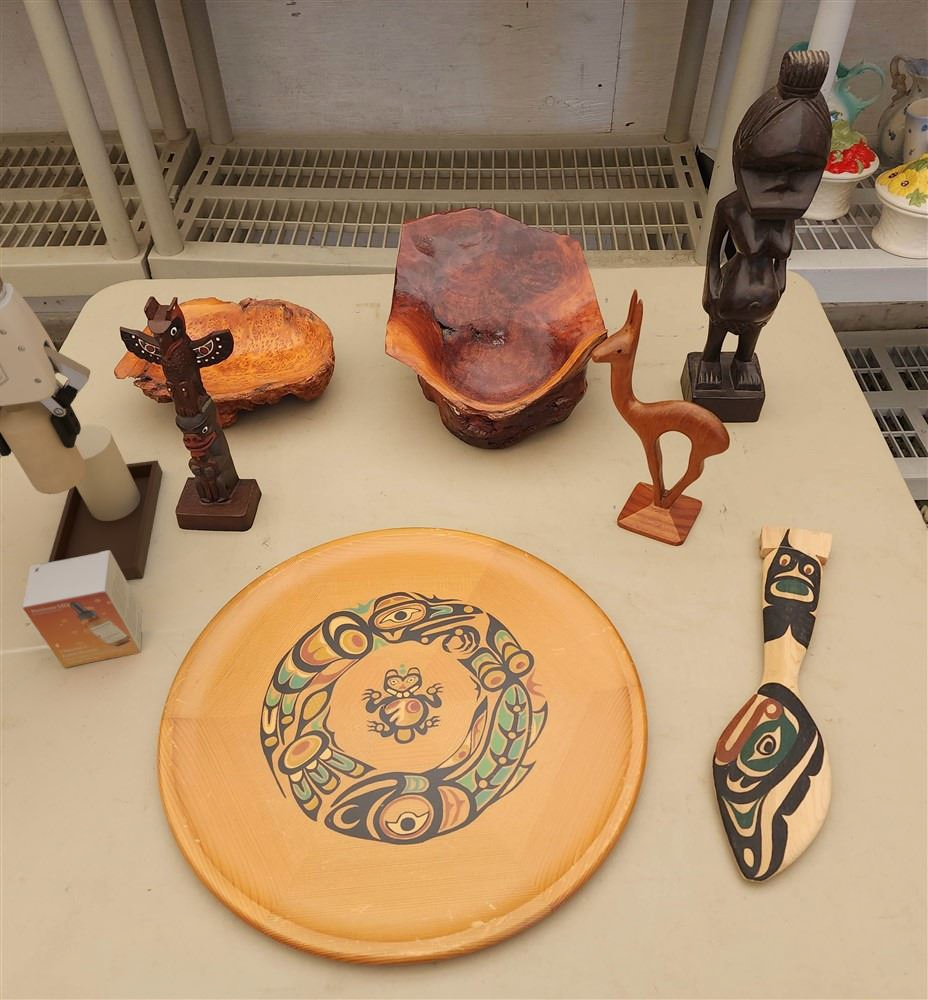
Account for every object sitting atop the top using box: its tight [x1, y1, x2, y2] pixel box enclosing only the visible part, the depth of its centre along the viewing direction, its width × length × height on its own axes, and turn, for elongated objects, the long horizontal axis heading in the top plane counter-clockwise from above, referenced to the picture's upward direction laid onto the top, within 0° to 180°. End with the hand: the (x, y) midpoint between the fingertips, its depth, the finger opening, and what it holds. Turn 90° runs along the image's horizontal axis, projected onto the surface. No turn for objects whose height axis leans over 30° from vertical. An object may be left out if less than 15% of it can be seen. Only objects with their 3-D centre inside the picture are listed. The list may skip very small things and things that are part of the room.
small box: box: [22, 550, 143, 669], centre depth 87 cm, size 8×6×10 cm
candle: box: [0, 401, 87, 495], centre depth 86 cm, size 6×6×10 cm
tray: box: [47, 459, 164, 582], centre depth 101 cm, size 10×17×3 cm, turn 7°
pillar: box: [75, 424, 140, 521], centre depth 101 cm, size 6×6×10 cm
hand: (40, 441), depth 86 cm, fingers closed on candle, 5 cm apart
